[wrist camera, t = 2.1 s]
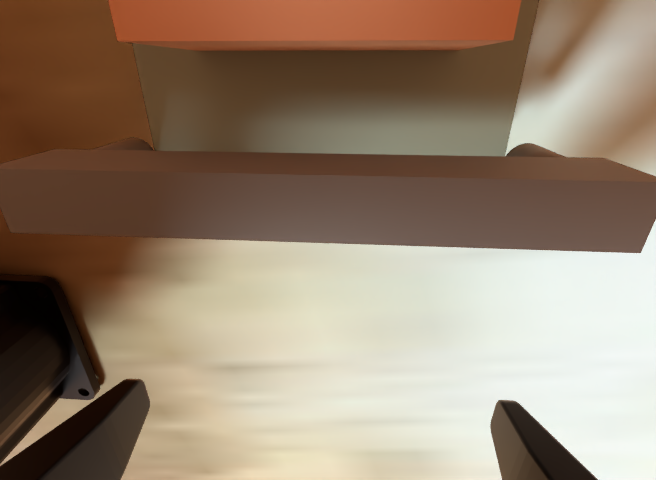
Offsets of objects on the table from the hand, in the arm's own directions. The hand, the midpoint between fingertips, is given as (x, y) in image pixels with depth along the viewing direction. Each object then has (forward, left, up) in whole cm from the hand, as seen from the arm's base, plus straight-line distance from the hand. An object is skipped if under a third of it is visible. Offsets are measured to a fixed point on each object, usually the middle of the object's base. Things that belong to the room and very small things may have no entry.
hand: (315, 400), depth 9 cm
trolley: (+10, 0, -5) cm, 11 cm away
